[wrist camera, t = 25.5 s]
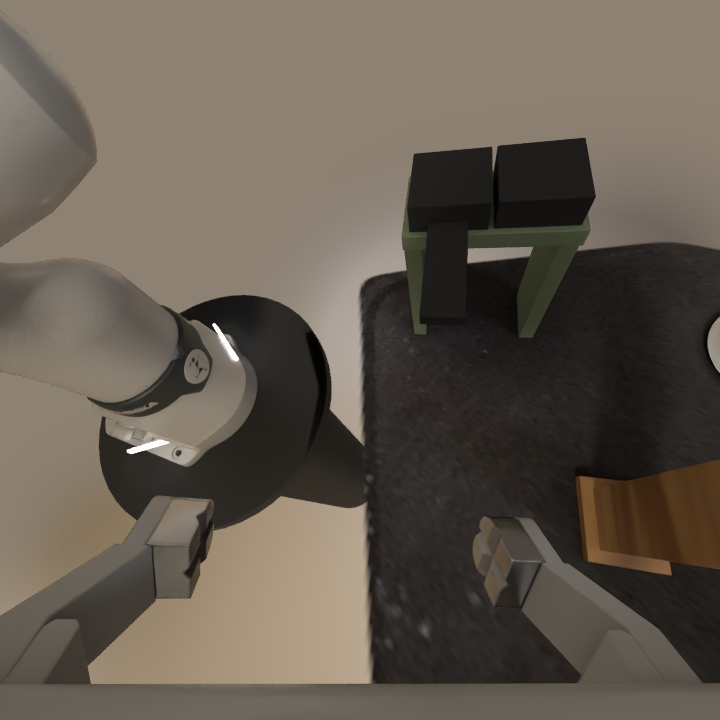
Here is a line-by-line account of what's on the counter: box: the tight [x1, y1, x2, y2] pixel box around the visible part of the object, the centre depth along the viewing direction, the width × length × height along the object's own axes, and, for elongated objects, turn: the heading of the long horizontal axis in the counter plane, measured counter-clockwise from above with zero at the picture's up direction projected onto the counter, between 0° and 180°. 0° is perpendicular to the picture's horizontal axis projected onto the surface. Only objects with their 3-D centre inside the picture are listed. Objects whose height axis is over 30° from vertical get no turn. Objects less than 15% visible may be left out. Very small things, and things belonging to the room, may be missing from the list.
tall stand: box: [575, 460, 720, 575], centre depth 20 cm, size 6×7×26 cm
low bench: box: [402, 171, 590, 338], centre depth 35 cm, size 14×7×17 cm, turn 82°
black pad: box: [407, 147, 493, 325], centre depth 26 cm, size 6×14×2 cm, turn 171°
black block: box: [493, 138, 596, 229], centre depth 26 cm, size 6×6×2 cm
